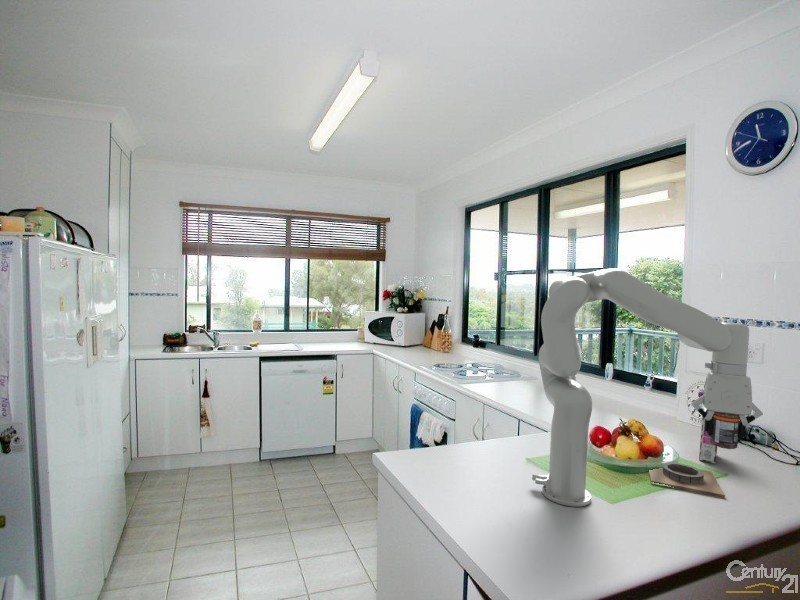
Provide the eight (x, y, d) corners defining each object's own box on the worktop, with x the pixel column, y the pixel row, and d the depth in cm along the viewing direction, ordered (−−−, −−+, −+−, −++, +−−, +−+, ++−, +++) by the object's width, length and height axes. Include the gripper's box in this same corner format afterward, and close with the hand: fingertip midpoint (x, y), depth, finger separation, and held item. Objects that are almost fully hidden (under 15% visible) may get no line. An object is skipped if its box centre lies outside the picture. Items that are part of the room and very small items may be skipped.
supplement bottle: (711, 440, 122) (713, 399, 122) (738, 445, 118) (741, 403, 118) (708, 445, 118) (711, 403, 117) (736, 451, 114) (739, 408, 114)
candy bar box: (716, 464, 149) (719, 416, 148) (698, 460, 152) (701, 413, 151) (716, 454, 158) (719, 409, 157) (699, 451, 161) (702, 406, 160)
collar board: (651, 484, 132) (651, 474, 132) (646, 462, 148) (646, 454, 148) (724, 498, 124) (725, 487, 124) (711, 474, 140) (711, 465, 140)
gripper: (692, 367, 118) (687, 434, 118) (774, 375, 110) (769, 447, 111) (688, 363, 125) (683, 427, 125) (765, 371, 117) (760, 438, 118)
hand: (724, 436), depth 118 cm, fingers closed on supplement bottle, 6 cm apart
